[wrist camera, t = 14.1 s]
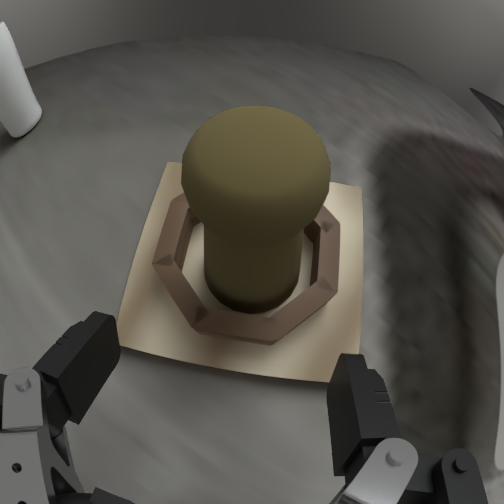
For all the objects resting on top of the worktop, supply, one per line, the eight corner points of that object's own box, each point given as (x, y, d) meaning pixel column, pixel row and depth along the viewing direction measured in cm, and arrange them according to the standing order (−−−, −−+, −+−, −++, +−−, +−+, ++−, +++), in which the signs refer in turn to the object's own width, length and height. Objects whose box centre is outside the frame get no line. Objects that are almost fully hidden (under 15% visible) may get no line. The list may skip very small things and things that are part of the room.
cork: (319, 280, 18) (391, 168, 8) (236, 333, 17) (219, 266, 7) (265, 208, 20) (279, 69, 10) (186, 252, 19) (134, 123, 9)
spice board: (119, 345, 18) (95, 337, 14) (171, 171, 23) (161, 141, 20) (349, 383, 17) (369, 384, 14) (356, 196, 22) (371, 169, 19)
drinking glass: (4, 152, 25) (-53, 69, 12) (12, 121, 28) (-32, 45, 14) (44, 128, 26) (-7, 32, 13) (51, 99, 29) (11, 14, 15)
